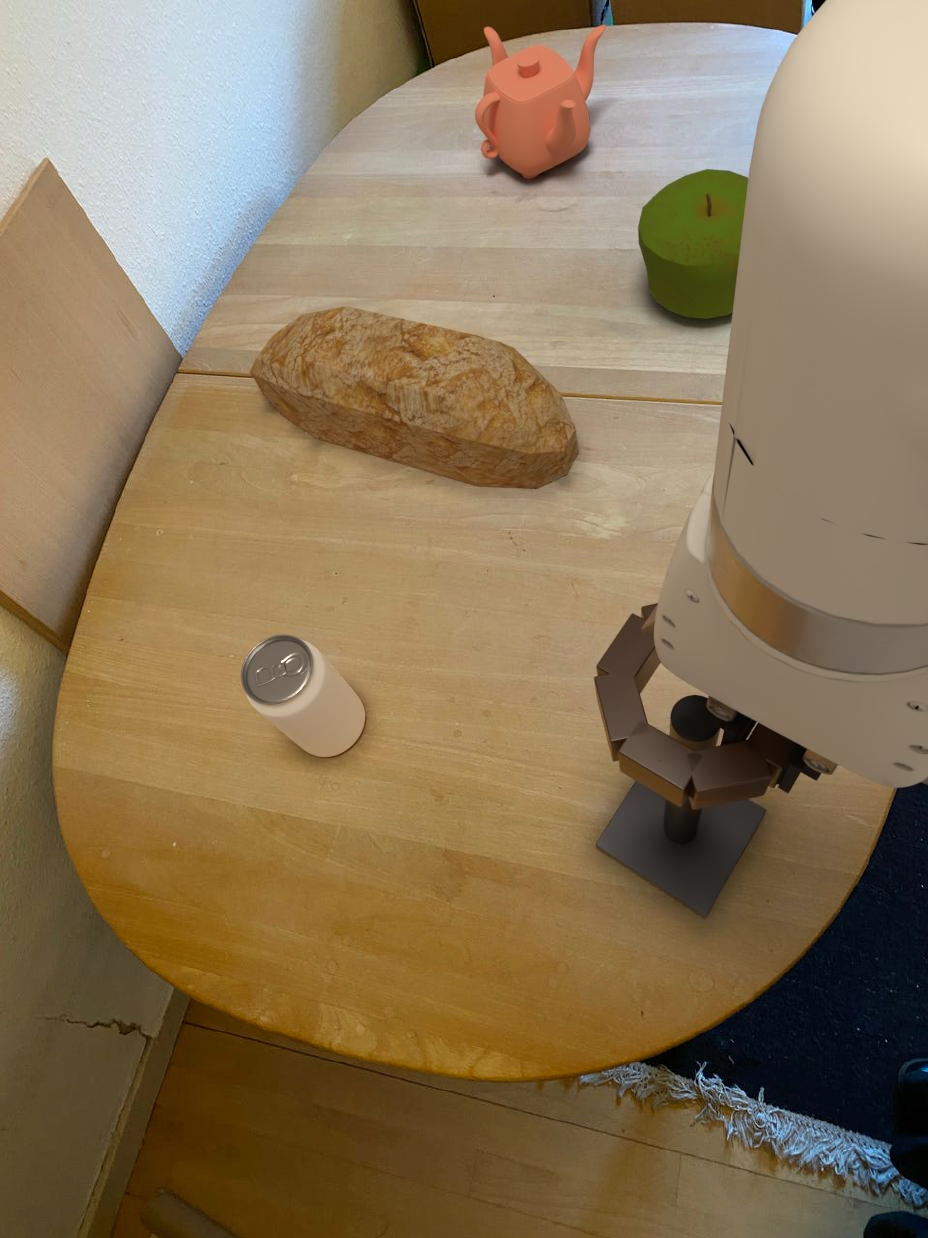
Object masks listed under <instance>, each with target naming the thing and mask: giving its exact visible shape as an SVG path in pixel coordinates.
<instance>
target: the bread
mask: <svg viewBox="0 0 928 1238" xmlns="http://www.w3.org/2000/svg"><path fill="white" fill-rule="evenodd" d="M249 373H250V374H251V376H252V378H253V380H254V381H255V383H256V385H257V386H258V388H259V389H260V391H261V394H262V395H263V396H265V398H266V399H267V400H268V402H270V403H271V404H272V406H273V407H274V408H276V410H277V411H278V412H279V413H280V414H281V415H282V416H283V417H284V418H285V419H287V420H288V421H290V422H291V423H293V424H294V425H295V426H297V427H299V428H300V429H302V430H303V431H304V432H306V433H308V434H309V435H310V436H311V437H312V438H315V439H317V440H320V441H323V442H326V443H327V442H328V443H331V444H333V445H337V446H341V447H344V448H347V449H350V450H353V451H357V452H361V453H364V454H368V455H372V456H374V457H378V458H380V459H384V460H388V461H391V462H395V463H398V464H402V465H404V466H407V467H412V468H414V469H418V470H422V471H425V472H429V473H432V474H435V475H439V476H442V477H445V478H448V479H452V480H455V481H458V482H462V483H466V484H469V485H472V486H475V487H486V488H489V487H490V488H491V487H493V488H512V489H513V488H515V489H539V488H541V487H544V486H545V485H548V484H550V483H552V482H554V481H556V480H558V479H561V478H563V477H565V476H567V475H568V474H569V472H570V470H571V468H572V466H573V464H574V462H575V460H576V458H577V456H578V454H579V445H578V437H577V428H576V426H575V423H574V421H573V418H572V415H571V413H570V411H569V409H568V407H567V405H566V402H565V399H564V397H563V394H562V393H561V392H560V391H559V390H558V389H557V388H556V387H555V386H554V385H553V384H552V383H551V382H550V381H549V380H548V379H547V378H546V377H545V376H543V374H542V373H541V372H540V371H539V370H538V369H537V368H536V367H534V365H533V364H532V363H530V362H529V361H528V360H527V359H526V358H525V356H523V355H522V354H521V353H520V352H519V351H518V350H517V349H516V348H515V347H513V346H511V345H508V344H506V343H503V342H501V341H498V340H495V339H491V338H488V337H484V336H481V335H477V334H472V333H468V332H463V331H460V330H455V329H450V328H447V327H446V328H445V327H441V326H438V325H432V324H429V323H425V322H424V323H423V322H419V321H414V320H410V319H405V318H401V317H396V316H393V315H392V316H391V315H387V314H384V313H380V312H379V313H378V312H374V311H369V310H365V309H360V308H356V307H353V306H339V307H334V308H329V309H324V310H318V311H312V312H309V313H303V314H301V315H299V316H298V317H296V318H295V319H293V320H292V321H291V322H289V323H288V324H287V325H285V326H284V327H282V328H280V329H279V330H278V331H276V332H275V333H274V334H273V335H271V337H270V338H269V339H268V341H267V342H266V343H265V345H264V347H263V348H262V349H261V351H260V352H259V353H258V355H257V356H256V358H255V359H254V362H253V364H252V366H251V368H250V370H249Z"/></svg>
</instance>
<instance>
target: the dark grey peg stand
mask: <svg viewBox="0 0 928 1238" xmlns="http://www.w3.org/2000/svg"><path fill="white" fill-rule="evenodd" d="M707 701H708V697H707V696H704V695H700V694H690V695H686V696H684V697H681V698H680V699H679V700H677V701H676V702H675V703H674V705H673V706H672V708H671V712H670V717H669V719H670V720H669V734H668V735H669V736H671V737H672V738H674V739H676V740H678V741H679V742H681V743H683V744H685V745H686V746H688V747H690V748H692V749H693V750H695V751H696V750H701V749H705V748H710V747H715V746H718V741H719V736H720V733H721V728H719V727H717V726H715V725H714V723H715V719H716V716H715V715H714V714H712V713H711V712H710V711H709V710H708V708H707V706H706V705H707ZM767 811H768V810H767V809H766V808H765V807H763V806H762V805H759V804H758V803H756V802H754V801H752V800H751V799H745V800H740V801H735V802H730V803H725V804H720V805H715V806H711V807H706V808H701V809H696V810H694V809H692V806H691V803H690V799H689V796H688V798H687V800H686V801H685V803H684V805H683V806H682V807H679V806H677V805H675V804H674V803H672V802H671V801H669V800H667V799H666V798H664V797H662V796H661V795H659V794H657V793H656V792H654V791H652V790H651V789H649V788H647V787H646V786H644V785H642V784H641V783H639V782H638V781H636V780H634V783H633V784H632V785H631V787H630V789H629V791H628V792H627V794H626V795H625V797H624V799H623V800H622V802H621V803H620V805H619V806H618V808H617V810H616V811H615V812H614V814H613V815H612V818H611V819H610V821H609V822H608V824H607V825H606V827H605V829H604V830H603V831H602V833H601V835H600V836H599V838H598V839H597V841H596V843H595V848H596V849H597V851H600V852H601V853H602V854H604V855H606V856H607V857H609V858H610V859H612V860H614V862H616V863H618V864H620V865H621V866H623V867H624V868H625V869H627V870H628V871H630V872H632V873H633V874H635V875H636V876H638V877H639V878H641V879H642V880H644V881H646V882H647V883H649V884H650V885H652V886H653V887H654V888H656V889H658V890H659V891H660V892H662V893H663V894H665V895H667V896H668V897H670V898H671V899H673V900H674V901H676V902H677V903H679V904H680V905H682V906H684V907H685V908H686V909H688V910H690V912H693V913H694V914H696V915H698V916H699V917H700V918H701V919H704V920H705V919H706V917H707V916H708V914H709V912H710V911H711V910H712V907H713V906H714V903H715V902H716V900H717V898H718V897H719V896H720V893H721V892H722V890H723V888H724V886H725V884H726V883H727V881H728V879H729V877H730V876H731V874H732V873H733V870H734V869H735V867H736V865H737V864H738V862H739V860H740V858H741V857H742V855H743V853H744V851H745V850H746V848H747V846H748V844H749V842H750V841H751V839H752V838H753V835H754V834H755V832H756V830H757V829H758V828H759V825H760V823H761V821H762V820H763V817H764V816H765V815H766V814H767Z"/></svg>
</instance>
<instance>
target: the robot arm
mask: <svg viewBox="0 0 928 1238" xmlns="http://www.w3.org/2000/svg"><path fill="white" fill-rule="evenodd" d="M747 177H748V185H747V194H746V203H745V211H744V220H743V228H742V237H741V245H740V254H739V263H738V271H737V280H736V288H735V297H734V305H733V312H732V313H731V314H732V315H731V324H730V331H729V332H730V333H729V339H728V340H729V341H728V349H727V357H726V365H725V374H724V375H725V376H724V384H723V385H724V386H723V392H722V401H721V410H720V419H719V426H718V436H717V445H716V453H715V461H714V469H713V470H712V472H711V474H710V476H709V477H708V479H707V480H706V481H705V483H704V485H703V487H702V490H701V491H700V493H699V496H698V498H697V499H696V501H695V504H694V505H693V507H692V509H691V511H690V513H688V516H687V519H686V521H685V523H684V525H683V527H682V530H681V532H680V534H679V537H678V539H677V542H676V545H675V547H674V549H673V553H672V555H671V557H670V561H669V564H668V567H667V570H666V573H665V577H664V580H663V583H662V587H661V590H660V594H659V598H658V602H657V603H658V604H657V606H656V607H655V609H654V610H653V612H652V613H651V615H650V616H649V618H648V619H647V621H646V622H645V624H644V625H643V627H642V628H641V629H642V632H643V633H644V634H645V635H646V636H647V637H649V638H650V639H651V640H653V641H654V643H655V648H656V652H657V655H658V657H659V659H660V661H661V663H660V664H661V665H662V666H663V667H664V669H666V670H667V671H669V673H671V674H673V675H674V676H675V677H677V678H678V679H680V680H681V681H683V682H685V683H686V684H688V685H690V686H691V687H693V688H695V689H696V690H698V691H700V692H702V693H704V694H706V695H707V696H708V697H707V698H708V701H707V705H706V706H707V708H708V710H709V711H710V712H711V713H712V714H714V715H715V716H716V719H715V723H714V725H715V726H717V727H719V728H720V730H723V731H722V732H723V733H722V736H721V741H720V745H724V744H729V743H734V742H738V743H739V742H740V741H743V740H748V738H749V736H750V735H751V733H752V731H753V730H754V728H755V726H756V725H757V723H758V722H759V723H760V724H762V725H764V726H766V727H768V728H770V729H772V730H773V731H775V732H777V733H779V734H781V735H783V736H785V737H787V738H788V739H790V740H792V741H794V742H796V743H795V745H794V747H793V748H792V750H791V752H790V754H789V755H788V757H787V759H786V761H785V763H784V765H783V767H784V770H783V772H782V774H781V776H780V778H779V780H778V782H777V784H776V785H778V786H777V788H778V789H779V790H781V791H783V792H785V793H786V794H790V792H791V791H792V789H793V787H794V785H795V783H796V782H797V780H798V778H799V777H800V775H801V774H803V775H804V776H806V777H808V778H810V779H812V780H814V781H815V782H818V780H819V778H820V777H821V775H822V774H823V775H827V776H830V775H833V774H834V772H835V771H836V769H837V767H838V766H839V767H842V768H844V769H846V770H848V771H849V772H852V773H853V774H856V775H858V776H860V777H862V778H864V779H866V780H869V781H871V782H873V783H876V784H878V785H881V786H884V787H887V788H891V789H896V788H897V789H898V788H899V789H900V788H907V787H911V786H912V787H913V786H915V785H918V784H920V783H921V784H924V785H927V786H928V0H825V1H824V2H823V3H822V4H821V6H820V7H819V8H818V9H817V10H816V11H815V12H814V13H813V15H812V16H811V17H810V18H809V19H808V21H807V22H806V24H805V25H804V26H803V27H802V29H801V30H800V31H799V32H798V34H796V36H795V38H794V39H792V41H791V43H790V45H789V47H788V48H787V50H786V53H785V54H784V56H783V58H782V60H781V62H780V63H779V66H778V67H777V70H776V72H775V74H774V76H773V77H772V81H771V82H770V84H769V86H768V89H767V91H766V93H765V97H764V101H763V102H762V105H761V108H760V112H759V116H758V120H757V124H756V129H755V136H754V140H753V146H752V151H751V158H750V165H749V171H748V176H747Z"/></svg>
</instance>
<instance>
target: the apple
mask: <svg viewBox="0 0 928 1238" xmlns="http://www.w3.org/2000/svg"><path fill="white" fill-rule="evenodd" d="M748 177H749V176H745V175H743V174H739V173H737V172H734V171H732V170H728V169H727V170H725V169H711V168H706V169H703V170H699V171H696V172H693V173H688V174H685V175H683V176H682V177H680V178H678V179H676V180H674V181H672V182H670V183H668V184H666V185H665V186H664V187H663V188H662V189H660V190H659V191H658V192H657V193H656V194H655V195H654V196H653V197H652V198H651V199H650V200H649V201H647V203H646V204H645V205H644V206H642V208H641V212H640V217H639V221H638V226H637V231H638V233H637V234H638V245H639V248H640V249H639V250H640V252H641V256H642V259H643V261H644V262H643V263H644V265H645V270H646V271H645V272H646V276H647V284H648V288H649V291H650V293H651V295H652V297H653V298H654V301H655V302H656V303H658V304H659V305H661V306H662V307H664V308H665V309H666V310H667V311H669V312H672V313H675V314H676V315H679V316H682V317H685V318H693V319H704V320H705V319H706V320H707V319H713V318H718V317H719V318H720V317H723V316H724V317H725V316H728V315H730V314H733V305H734V297H735V288H736V280H737V271H738V263H739V254H740V245H741V237H742V228H743V220H744V211H745V203H746V194H747V185H748Z"/></svg>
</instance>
